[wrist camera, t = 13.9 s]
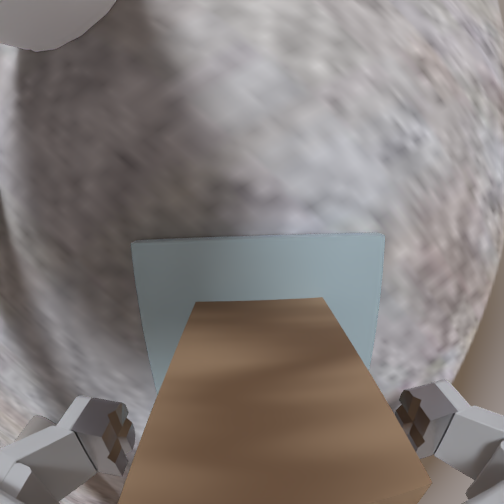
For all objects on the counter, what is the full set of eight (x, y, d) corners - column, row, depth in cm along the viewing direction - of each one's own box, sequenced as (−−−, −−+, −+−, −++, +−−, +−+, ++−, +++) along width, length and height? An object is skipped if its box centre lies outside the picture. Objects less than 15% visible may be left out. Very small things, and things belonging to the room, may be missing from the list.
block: (322, 297, 11) (432, 482, 3) (314, 394, 12) (362, 563, 4) (195, 301, 10) (117, 503, 3) (207, 398, 11) (180, 574, 4)
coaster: (353, 415, 13) (357, 423, 12) (169, 423, 13) (167, 431, 12) (378, 232, 11) (385, 235, 10) (136, 240, 11) (130, 243, 10)
